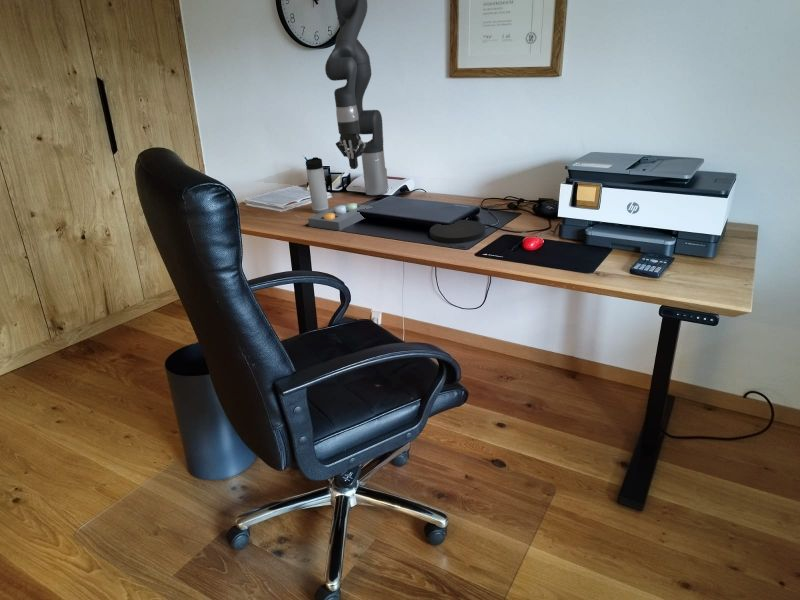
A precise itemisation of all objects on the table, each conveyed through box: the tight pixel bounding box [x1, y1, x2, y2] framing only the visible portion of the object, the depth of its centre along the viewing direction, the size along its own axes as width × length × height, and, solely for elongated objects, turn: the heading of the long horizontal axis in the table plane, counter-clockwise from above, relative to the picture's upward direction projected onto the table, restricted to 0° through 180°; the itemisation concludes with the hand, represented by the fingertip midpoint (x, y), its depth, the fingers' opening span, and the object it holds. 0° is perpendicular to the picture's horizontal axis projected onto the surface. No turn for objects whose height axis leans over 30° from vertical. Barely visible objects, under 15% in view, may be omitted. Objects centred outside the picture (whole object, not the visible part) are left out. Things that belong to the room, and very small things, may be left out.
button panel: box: [307, 202, 374, 232], centre depth 203 cm, size 20×14×3 cm
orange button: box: [323, 213, 335, 220], centre depth 198 cm, size 4×4×4 cm
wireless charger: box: [429, 219, 486, 244], centre depth 179 cm, size 18×18×2 cm
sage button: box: [346, 202, 358, 210], centre depth 207 cm, size 4×4×4 cm
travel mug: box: [305, 156, 330, 214], centre depth 213 cm, size 6×7×20 cm
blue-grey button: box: [334, 204, 346, 215], centre depth 202 cm, size 4×4×4 cm
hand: (354, 168), depth 203 cm, fingers closed
